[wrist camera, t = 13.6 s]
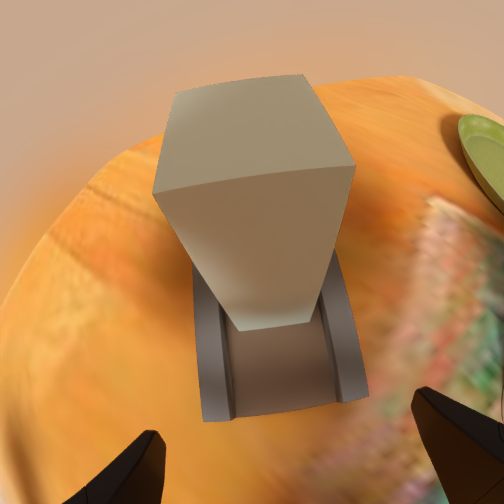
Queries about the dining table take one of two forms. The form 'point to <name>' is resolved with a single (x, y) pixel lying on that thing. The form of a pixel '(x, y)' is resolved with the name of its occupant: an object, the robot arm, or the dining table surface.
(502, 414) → the can
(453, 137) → the dining table surface
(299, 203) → the white rectangular block
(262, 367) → the floor track
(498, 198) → the saucer
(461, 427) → the robot arm
